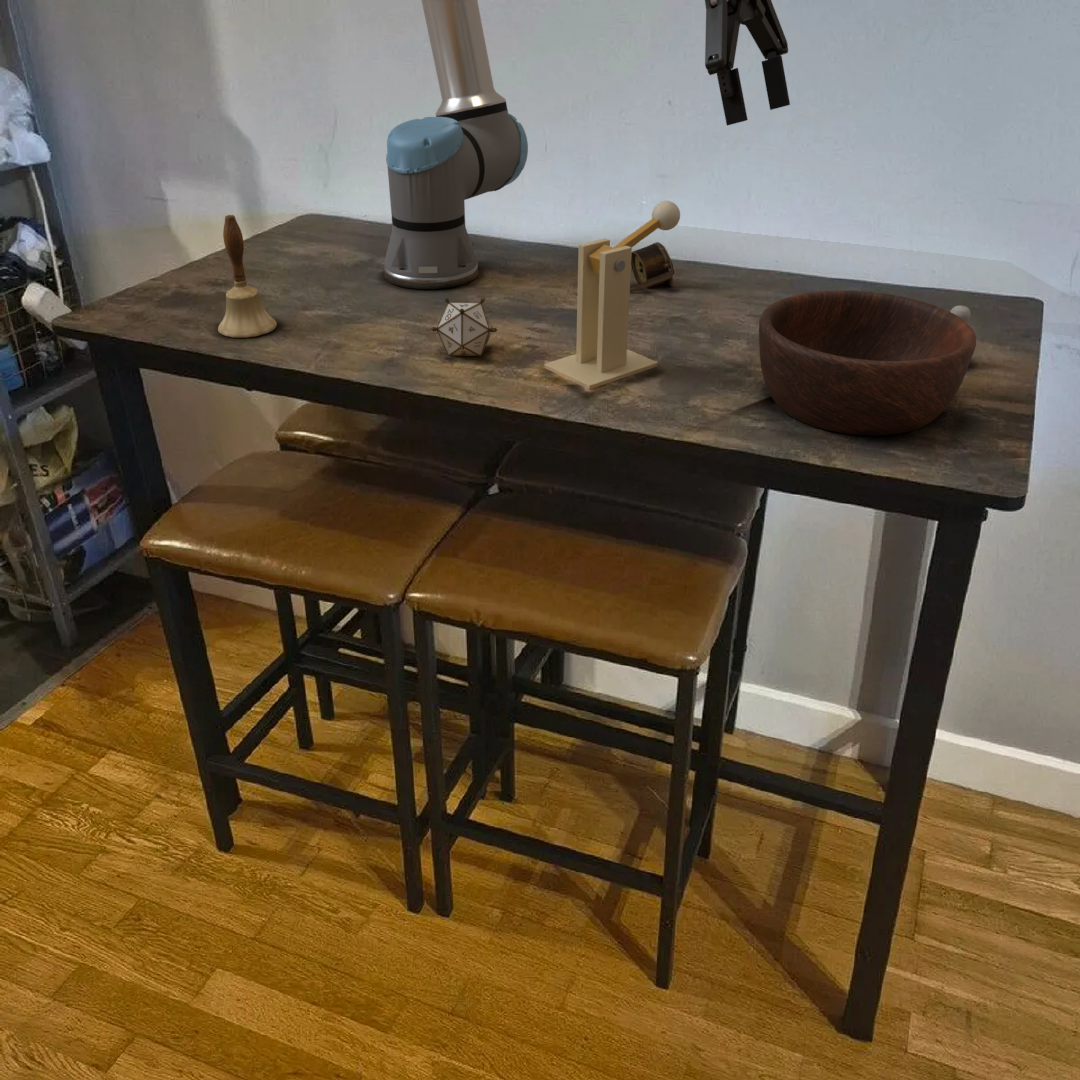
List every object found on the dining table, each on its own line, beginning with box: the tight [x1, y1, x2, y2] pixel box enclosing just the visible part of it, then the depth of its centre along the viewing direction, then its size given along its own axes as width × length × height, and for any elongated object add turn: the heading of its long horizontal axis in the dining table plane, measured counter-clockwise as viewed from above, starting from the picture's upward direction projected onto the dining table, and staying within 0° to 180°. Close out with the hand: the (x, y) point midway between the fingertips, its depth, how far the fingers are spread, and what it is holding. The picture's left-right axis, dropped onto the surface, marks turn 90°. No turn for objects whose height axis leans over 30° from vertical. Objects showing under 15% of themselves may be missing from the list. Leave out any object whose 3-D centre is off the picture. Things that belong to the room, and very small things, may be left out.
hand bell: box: [217, 214, 278, 339], centre depth 149 cm, size 8×8×16 cm
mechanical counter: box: [630, 241, 675, 292], centre depth 166 cm, size 7×13×10 cm
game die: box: [430, 296, 498, 357], centre depth 142 cm, size 9×8×10 cm
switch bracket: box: [543, 238, 659, 391], centre depth 135 cm, size 12×9×17 cm
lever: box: [589, 200, 681, 274], centre depth 133 cm, size 14×4×4 cm, turn 129°
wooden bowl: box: [758, 289, 977, 437], centre depth 129 cm, size 25×25×10 cm
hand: (759, 115), depth 145 cm, fingers open, 13 cm apart
